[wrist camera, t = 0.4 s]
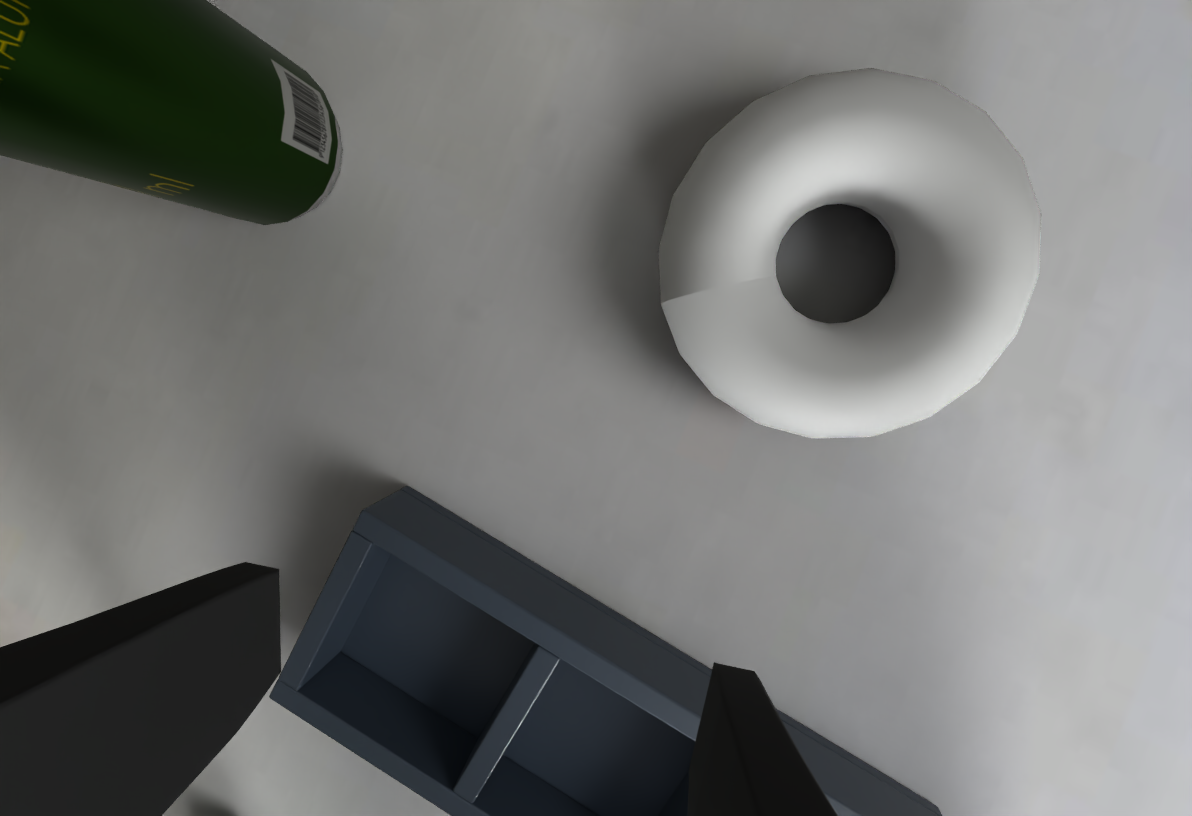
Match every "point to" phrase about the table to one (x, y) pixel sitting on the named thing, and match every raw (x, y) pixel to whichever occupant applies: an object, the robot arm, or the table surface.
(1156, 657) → the table surface
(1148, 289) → the table surface
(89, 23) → the beer can
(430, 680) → the tray
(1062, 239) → the table surface
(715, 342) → the donut
